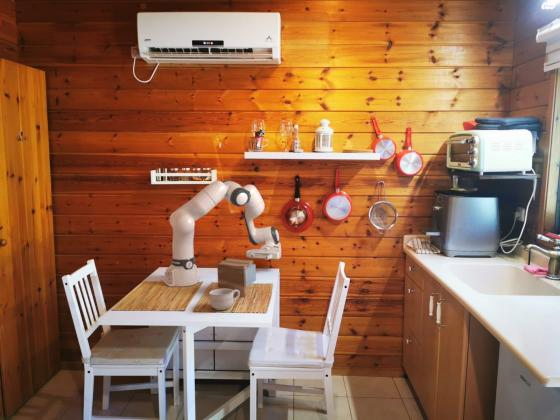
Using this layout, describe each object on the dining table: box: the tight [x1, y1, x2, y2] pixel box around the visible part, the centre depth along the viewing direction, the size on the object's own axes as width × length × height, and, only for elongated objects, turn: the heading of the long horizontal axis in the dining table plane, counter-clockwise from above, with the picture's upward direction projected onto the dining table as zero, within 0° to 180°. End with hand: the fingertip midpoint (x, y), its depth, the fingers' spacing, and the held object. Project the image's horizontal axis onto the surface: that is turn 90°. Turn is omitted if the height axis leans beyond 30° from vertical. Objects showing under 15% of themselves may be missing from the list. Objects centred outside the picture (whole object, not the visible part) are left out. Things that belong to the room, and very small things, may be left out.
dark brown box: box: [216, 258, 254, 298], centre depth 222 cm, size 12×14×16 cm
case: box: [245, 263, 257, 288], centre depth 237 cm, size 14×4×9 cm, turn 162°
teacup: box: [208, 288, 240, 311], centre depth 201 cm, size 14×11×8 cm
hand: (258, 257), depth 252 cm, fingers open, 8 cm apart
